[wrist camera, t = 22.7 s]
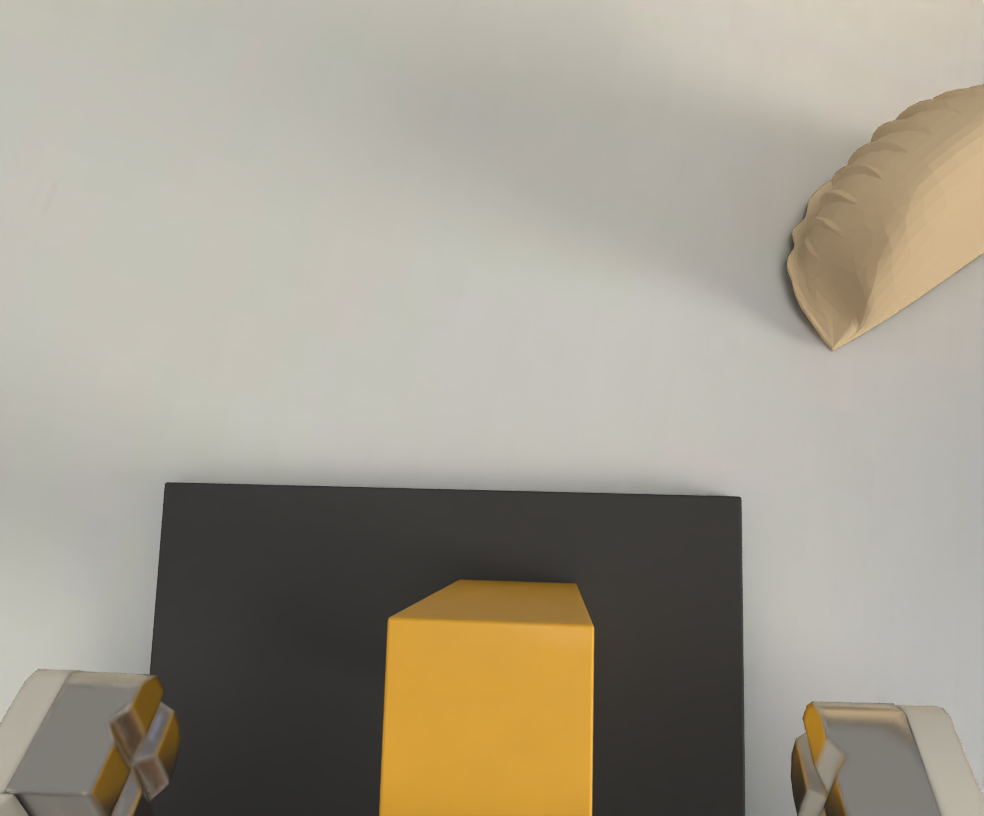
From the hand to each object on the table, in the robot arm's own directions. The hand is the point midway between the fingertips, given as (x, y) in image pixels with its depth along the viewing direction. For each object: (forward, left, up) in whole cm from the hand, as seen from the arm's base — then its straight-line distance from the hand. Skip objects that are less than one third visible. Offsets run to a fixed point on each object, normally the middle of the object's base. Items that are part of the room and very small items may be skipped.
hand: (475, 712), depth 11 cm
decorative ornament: (-11, -11, -13) cm, 20 cm away
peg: (0, +1, -12) cm, 12 cm away
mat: (+2, +3, -13) cm, 13 cm away
